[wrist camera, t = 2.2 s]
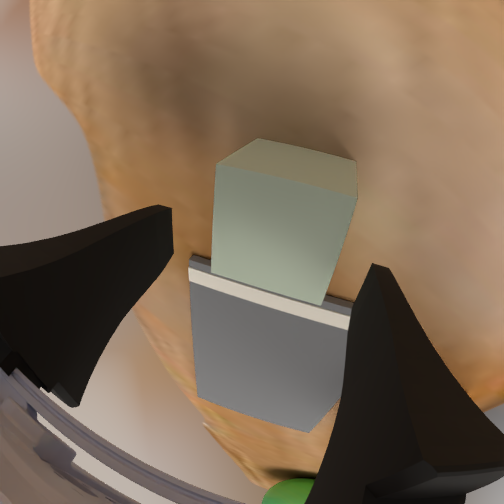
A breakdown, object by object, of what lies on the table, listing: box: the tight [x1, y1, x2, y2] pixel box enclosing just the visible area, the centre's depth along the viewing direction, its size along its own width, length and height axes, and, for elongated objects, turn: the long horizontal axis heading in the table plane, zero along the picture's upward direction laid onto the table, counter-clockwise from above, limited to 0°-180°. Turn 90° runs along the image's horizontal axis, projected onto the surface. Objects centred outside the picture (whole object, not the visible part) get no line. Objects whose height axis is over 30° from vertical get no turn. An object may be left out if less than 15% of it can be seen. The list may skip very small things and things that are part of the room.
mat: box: [188, 255, 354, 433], centre depth 24 cm, size 14×21×1 cm, turn 174°
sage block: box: [211, 138, 358, 306], centre depth 13 cm, size 5×5×5 cm
